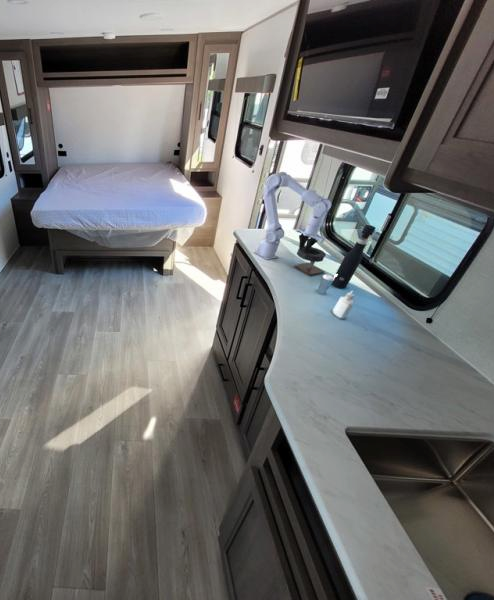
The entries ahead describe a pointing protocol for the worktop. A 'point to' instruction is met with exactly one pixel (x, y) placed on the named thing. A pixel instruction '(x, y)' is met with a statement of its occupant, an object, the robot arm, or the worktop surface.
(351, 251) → the black thermos flask
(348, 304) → the eye dropper bottle
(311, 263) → the stand
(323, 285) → the milkshake
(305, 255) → the ring
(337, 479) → the worktop surface
